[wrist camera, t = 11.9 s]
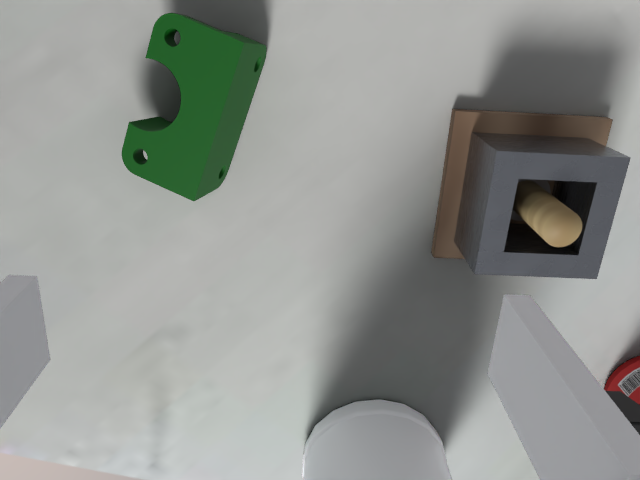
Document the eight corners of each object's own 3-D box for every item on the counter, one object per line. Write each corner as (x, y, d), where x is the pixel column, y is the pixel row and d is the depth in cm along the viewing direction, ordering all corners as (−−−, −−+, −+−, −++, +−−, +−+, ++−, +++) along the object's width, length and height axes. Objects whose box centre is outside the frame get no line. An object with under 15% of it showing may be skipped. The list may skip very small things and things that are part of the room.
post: (431, 252, 47) (458, 305, 38) (452, 108, 42) (488, 133, 34) (570, 258, 47) (626, 311, 39) (605, 117, 43) (679, 143, 34)
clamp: (206, 42, 44) (170, -19, 35) (274, 71, 43) (256, 17, 34) (142, 178, 43) (88, 152, 34) (210, 209, 43) (174, 191, 34)
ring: (453, 241, 45) (474, 274, 40) (471, 131, 42) (496, 150, 36) (561, 246, 46) (596, 278, 40) (587, 137, 42) (630, 157, 37)
